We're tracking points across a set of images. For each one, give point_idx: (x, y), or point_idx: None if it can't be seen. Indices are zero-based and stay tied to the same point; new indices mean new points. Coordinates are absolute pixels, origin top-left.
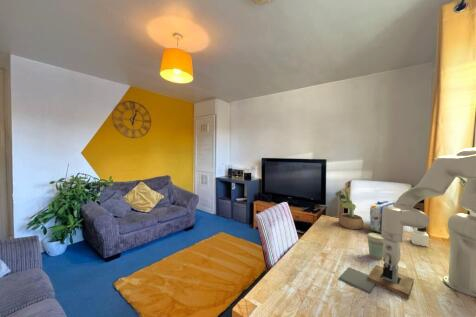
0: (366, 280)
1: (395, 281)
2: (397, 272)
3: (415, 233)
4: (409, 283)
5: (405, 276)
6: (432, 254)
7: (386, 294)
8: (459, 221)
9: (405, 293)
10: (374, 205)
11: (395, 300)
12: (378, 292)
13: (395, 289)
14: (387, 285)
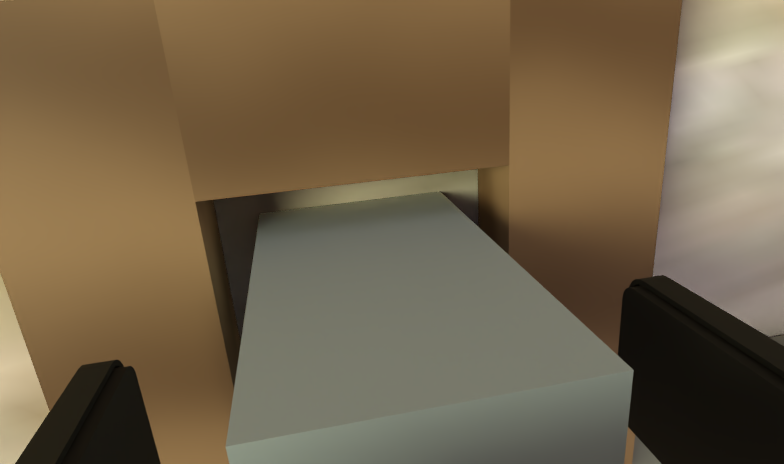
0: (636, 459)
1: (469, 227)
2: (340, 301)
3: None
4: (261, 31)
5: (1, 166)
6: None
7: (715, 212)
8: None
9: (672, 13)
10: None
11: (772, 98)
12: (736, 283)
13: (657, 157)
14: (652, 266)
